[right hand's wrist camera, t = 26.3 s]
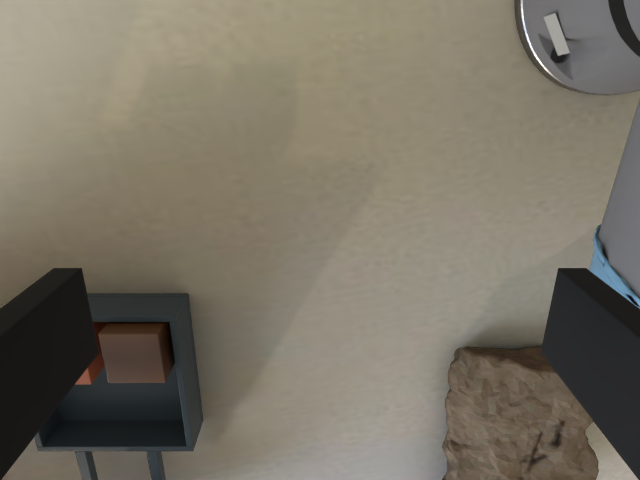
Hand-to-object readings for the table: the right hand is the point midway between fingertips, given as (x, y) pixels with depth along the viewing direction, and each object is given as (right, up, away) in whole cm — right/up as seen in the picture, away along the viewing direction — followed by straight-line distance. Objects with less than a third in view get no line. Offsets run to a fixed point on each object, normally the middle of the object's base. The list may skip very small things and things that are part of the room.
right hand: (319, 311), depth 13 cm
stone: (+19, -17, +35) cm, 44 cm away
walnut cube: (-16, -6, +30) cm, 35 cm away
